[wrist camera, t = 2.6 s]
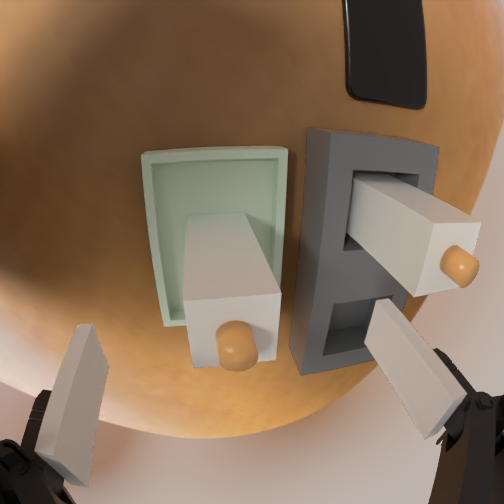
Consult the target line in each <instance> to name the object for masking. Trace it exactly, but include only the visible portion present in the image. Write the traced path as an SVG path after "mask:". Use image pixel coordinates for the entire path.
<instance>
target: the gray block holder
mask: <svg viewBox="0 0 504 504" xmlns="http://www.w3.org/2000/svg"><path fill="white" fill-rule="evenodd" d="M438 154H439V147H437V146H433V145H430V144H426V143H422V142H419V141H415V140H411V139H407V138H400V137H394V136H387V135H380V134H372V133H364V132H355V131H345V130H334V129H322V128H307V147H306V165H305V181H304V196H303V210H302V223H301V235H300V246H299V257H298V268H297V278H296V288H295V297H294V306H293V315H292V324H291V332H290V340H289V348H290V351H291V353H292V356H293V358H294V361H295V363H296V366H297V368H298V371H299V374H300V376H302V375H308V374H313V373H319V372H324V371H329V370H334V369H338V368H343V367H347V366H352V365H356V364H360V363H364V362H368V361H372V360H375V359H374V357H373V356H372V354H371V352H370V351H369V349H368V348H367V346H366V345H365V343H364V341H365V338H366V335H367V331H368V328H369V325H370V321H371V318H372V314H373V310H374V307H375V303H376V300H382V299H388V298H389V299H390V300H391V301H392V302H393V304H394V305H395V306H396V307H397V308H398V309H399V310H400V312H401V313H402V311H403V308H404V305H405V302H406V299H407V296H408V292H409V293H410V294H411V295H412V296H413V297H418V296H423V295H428V294H432V293H437V292H442V291H447V290H451V289H455V288H460V287H462V288H464V287H466V286H468V285H469V284H470V283H471V282H472V281H473V280H474V278H475V277H476V275H477V272H478V269H479V261H478V260H477V259H476V258H474V257H473V252H474V249H475V246H476V242H477V238H478V235H479V231H480V228H481V224H482V223H481V222H480V221H478V220H477V219H475V218H473V217H471V216H470V215H468V214H466V213H464V212H462V211H461V210H459V209H457V208H455V207H453V206H451V205H449V204H447V203H446V202H444V201H442V200H440V199H438V198H436V197H434V196H432V194H433V188H434V182H435V176H436V169H437V162H438Z"/></svg>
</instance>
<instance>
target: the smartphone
mask: <svg viewBox="0 0 504 504" xmlns="http://www.w3.org/2000/svg"><path fill="white" fill-rule="evenodd" d="M342 6H343V21H344V40H345V75H346V89H347V92H348V94H349V95H350V96H351V97H352V98H353V99H355V100H359V101H366V102H373V103H380V104H389V105H393V106H399V107H405V108H411V109H422V108H423V107H424V106H425V104H426V100H427V61H426V41H425V27H424V17H423V8H422V0H342Z"/></svg>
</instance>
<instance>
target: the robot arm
mask: <svg viewBox="0 0 504 504" xmlns="http://www.w3.org/2000/svg"><path fill="white" fill-rule="evenodd" d="M364 343H365V345H366V346H367V348H368V349H369V351H370V352H371V354H372V356H373V357H374V359H375V360H376V362H377V363H378V365H379V367H380V368H381V369H382V371H383V373H384V374H385V376H386V377H387V379H388V381H389V382H390V384H391V386H392V387H393V389H394V390H395V392H396V394H397V395H398V397H399V398H400V400H401V402H402V403H403V405H404V407H405V408H406V410H407V412H408V413H409V415H410V416H411V418H412V420H413V422H414V423H415V425H416V427H417V428H418V430H419V432H420V434H421V435H422V437H423V439H424V440H425V439H427V438H429V437H431V436H433V435H435V434H437V433H438V432H439V431H440V429H441V428H442V427H443V426H444V427H445V428H446V431H445V432H444V433H443V434H442V436H441V437H440V438H439V439H438V440H437V442H436V444H437V445H438V444H439V443H440V442H441V441H442V439H443V442H442V444H441V445H442V447H441V453H440V458H439V463H438V467H437V472H436V477H435V480H434V484H433V488H432V493H431V496H430V499H429V503H428V504H504V431H503V430H504V395H501V396H495V397H491V396H490V395H489V394H487V393H485V392H476V391H475V390H474V389H473V387H472V386H471V385H470V384H469V382H468V381H467V380H466V378H465V377H464V376H463V375H462V373H461V372H460V371H459V370H457V367H456V366H455V365H454V364H453V363H452V361H451V360H450V359H449V357H448V356H447V355H446V354H445V353H443V352H442V351H440V350H439V349H438V348H436V349H432V348H431V347H430V346H429V345H428V343H427V342H426V341H425V340H424V339H423V337H422V336H421V335H420V334H419V333H418V331H417V330H416V329H415V328H414V327H413V326H412V324H411V323H410V322H409V321H408V320H407V319H406V317H405V316H404V315H403V314H402V313H401V312H400V310H399V309H398V308H397V307H396V306H395V305H394V304H393V302H392V301H391V300H390V299H389V298H388V299H382V300H376V303H375V307H374V310H373V314H372V318H371V321H370V325H369V328H368V331H367V335H366V338H365V341H364ZM108 370H109V365H108V363H107V360H106V358H105V355H104V353H103V350H102V347H101V345H100V342H99V339H98V337H97V334H96V331H95V328H94V325H93V324H78V325H77V327H76V330H75V332H74V335H73V337H72V339H71V342H70V344H69V347H68V349H67V352H66V354H65V357H64V359H63V362H62V365H61V367H60V370H59V373H58V375H57V378H56V381H55V384H54V387H53V390H52V391H49V390H42V391H41V393H40V394H39V395H38V396H37V398H36V399H35V402H34V405H33V407H32V411H31V414H30V416H29V418H30V419H29V420H28V423H27V426H26V429H25V432H24V436H23V439H22V443H21V446H19V445H18V444H17V443H16V442H15V441H13V440H9V439H5V440H2V441H0V504H76V503H75V502H74V500H73V499H72V497H71V495H70V494H69V492H68V491H67V489H66V488H65V487H64V486H63V483H64V479H65V480H66V481H68V482H69V483H70V484H72V485H78V486H83V487H88V486H89V477H90V468H91V461H92V460H91V459H92V453H93V447H94V440H95V434H96V427H97V423H98V417H99V412H100V407H101V402H102V397H103V392H104V387H105V383H106V378H107V374H108Z"/></svg>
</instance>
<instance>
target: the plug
mask: <svg viewBox="0 0 504 504" xmlns="http://www.w3.org/2000/svg"><path fill="white" fill-rule="evenodd" d="M183 305H184V312H185V319H186V326H187V333H188V339H189V345H190V351H191V357H192V363H193V368H203V367H215V366H222V367H223V368H224V369H226V370H229V371H235V372H237V371H244V370H247V369H249V368H251V367H252V366H253V365H255V363H256V362H262V361H270V360H276V351H277V340H278V329H279V317H280V305H281V291H280V289H279V286H278V284H277V282H276V280H275V278H274V276H273V273H272V271H271V269H270V267H269V265H268V263H267V260H266V258H265V256H264V254H263V252H262V250H261V247H260V245H259V243H258V241H257V239H256V237H255V235H254V232H253V230H252V228H251V226H250V224H249V222H248V220H247V217H246V215H245V213H244V212H243V213H223V214H206V215H190V216H187V218H186V235H185V254H184V281H183Z"/></svg>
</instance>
